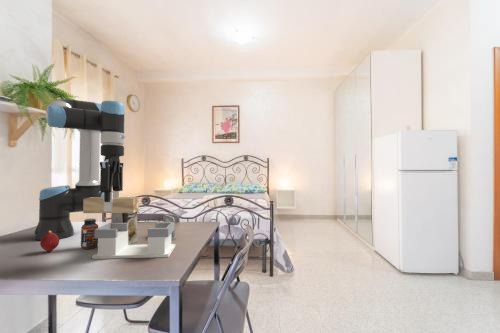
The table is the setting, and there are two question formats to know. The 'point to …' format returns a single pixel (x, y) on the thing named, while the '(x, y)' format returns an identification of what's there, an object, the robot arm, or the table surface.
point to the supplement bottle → (89, 234)
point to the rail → (118, 205)
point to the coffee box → (132, 224)
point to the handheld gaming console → (169, 219)
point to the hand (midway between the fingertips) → (111, 209)
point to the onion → (49, 241)
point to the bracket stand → (116, 245)
